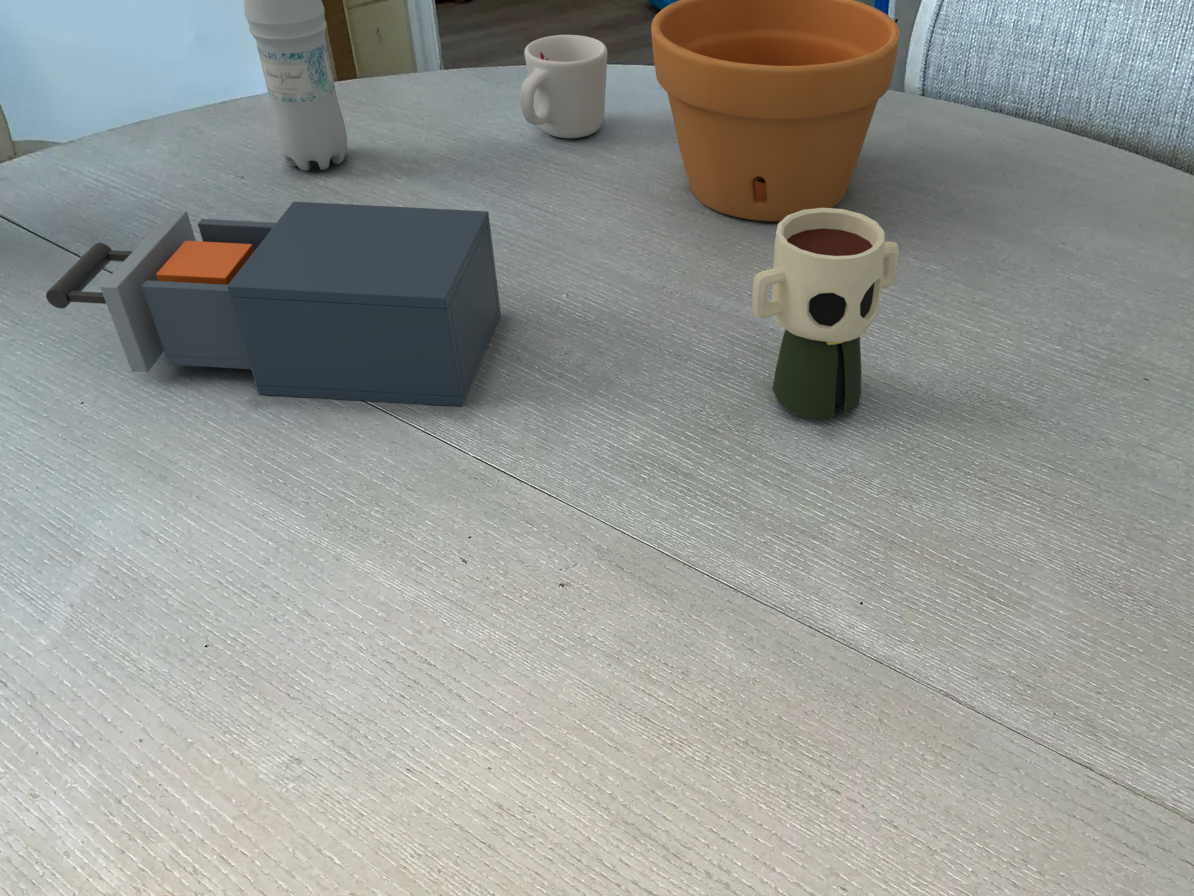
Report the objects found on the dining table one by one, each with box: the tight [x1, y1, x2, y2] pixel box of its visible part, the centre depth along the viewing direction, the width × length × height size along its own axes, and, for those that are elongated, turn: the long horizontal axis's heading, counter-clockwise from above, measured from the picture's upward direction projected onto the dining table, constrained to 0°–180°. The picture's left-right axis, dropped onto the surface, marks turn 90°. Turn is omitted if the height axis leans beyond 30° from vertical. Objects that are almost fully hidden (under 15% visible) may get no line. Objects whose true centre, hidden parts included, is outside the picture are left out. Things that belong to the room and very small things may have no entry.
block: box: [156, 240, 254, 285], centre depth 85 cm, size 5×5×5 cm
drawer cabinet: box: [227, 201, 502, 407], centre depth 84 cm, size 15×13×9 cm
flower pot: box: [650, 0, 901, 222], centre depth 104 cm, size 21×21×15 cm
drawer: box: [45, 210, 277, 373], centre depth 85 cm, size 19×11×7 cm, turn 86°
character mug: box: [751, 207, 900, 420], centre depth 79 cm, size 11×7×13 cm, turn 117°
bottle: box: [243, 0, 348, 171], centre depth 105 cm, size 7×7×20 cm
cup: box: [519, 34, 608, 139], centre depth 115 cm, size 11×8×8 cm
